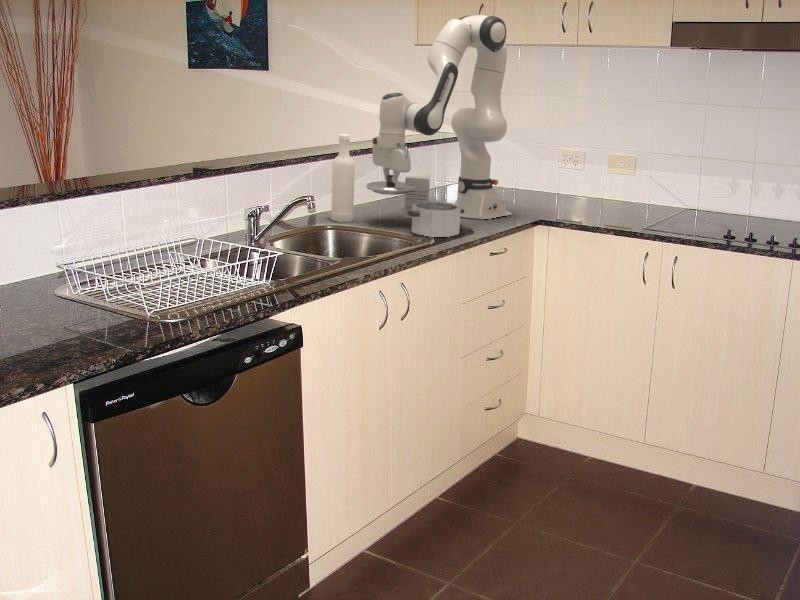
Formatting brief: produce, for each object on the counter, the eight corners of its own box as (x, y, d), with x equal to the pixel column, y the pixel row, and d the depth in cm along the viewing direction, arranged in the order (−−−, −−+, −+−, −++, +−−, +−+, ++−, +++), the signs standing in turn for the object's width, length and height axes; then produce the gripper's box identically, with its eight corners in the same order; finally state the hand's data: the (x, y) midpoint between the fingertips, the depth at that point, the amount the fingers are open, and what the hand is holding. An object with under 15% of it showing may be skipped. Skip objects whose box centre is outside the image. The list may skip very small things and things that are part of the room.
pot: (446, 225, 312) (448, 200, 309) (473, 235, 299) (475, 208, 296) (397, 229, 301) (398, 203, 299) (422, 239, 288) (424, 212, 286)
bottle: (351, 217, 317) (353, 133, 308) (355, 222, 309) (358, 136, 300) (329, 217, 315) (331, 132, 306) (332, 222, 307) (335, 135, 299)
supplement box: (403, 213, 329) (405, 173, 324) (427, 214, 329) (430, 174, 324) (403, 218, 320) (405, 177, 316) (427, 219, 320) (430, 178, 316)
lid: (398, 185, 319) (399, 170, 317) (424, 193, 305) (424, 177, 303) (357, 188, 310) (357, 173, 308) (381, 197, 296) (382, 181, 295)
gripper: (415, 145, 295) (414, 186, 300) (385, 137, 312) (384, 176, 316) (399, 146, 292) (398, 187, 296) (369, 138, 309) (369, 177, 313)
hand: (391, 181), depth 306 cm, fingers closed on lid, 3 cm apart
